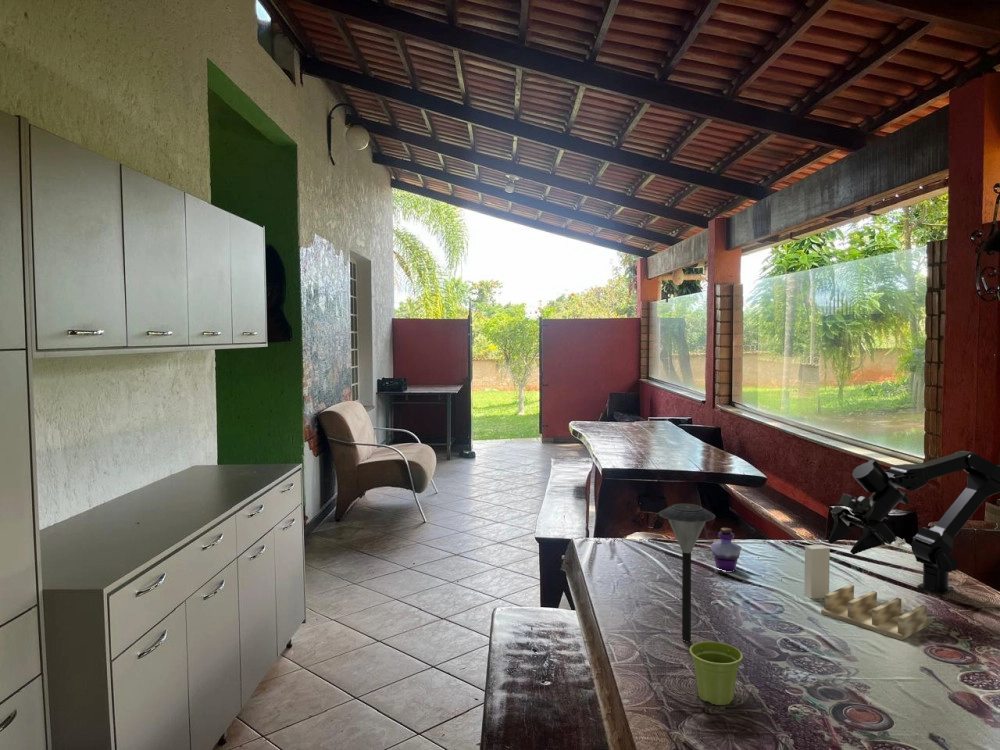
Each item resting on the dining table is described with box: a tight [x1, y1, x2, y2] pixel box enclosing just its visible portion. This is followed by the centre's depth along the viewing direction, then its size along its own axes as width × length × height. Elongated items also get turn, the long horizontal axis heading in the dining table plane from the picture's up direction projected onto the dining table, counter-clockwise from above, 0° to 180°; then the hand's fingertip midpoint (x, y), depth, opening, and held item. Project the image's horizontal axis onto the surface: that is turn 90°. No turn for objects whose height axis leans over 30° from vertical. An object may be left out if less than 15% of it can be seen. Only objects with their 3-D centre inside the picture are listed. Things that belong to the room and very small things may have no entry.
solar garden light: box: [658, 503, 717, 642], centre depth 149 cm, size 12×12×30 cm
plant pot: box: [689, 640, 744, 706], centre depth 125 cm, size 9×9×9 cm
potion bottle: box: [710, 527, 742, 571], centre depth 196 cm, size 9×9×12 cm
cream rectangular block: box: [803, 544, 831, 600], centre depth 174 cm, size 5×3×13 cm, turn 97°
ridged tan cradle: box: [820, 583, 931, 641], centre depth 160 cm, size 14×18×4 cm
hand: (840, 547), depth 175 cm, fingers open, 9 cm apart
